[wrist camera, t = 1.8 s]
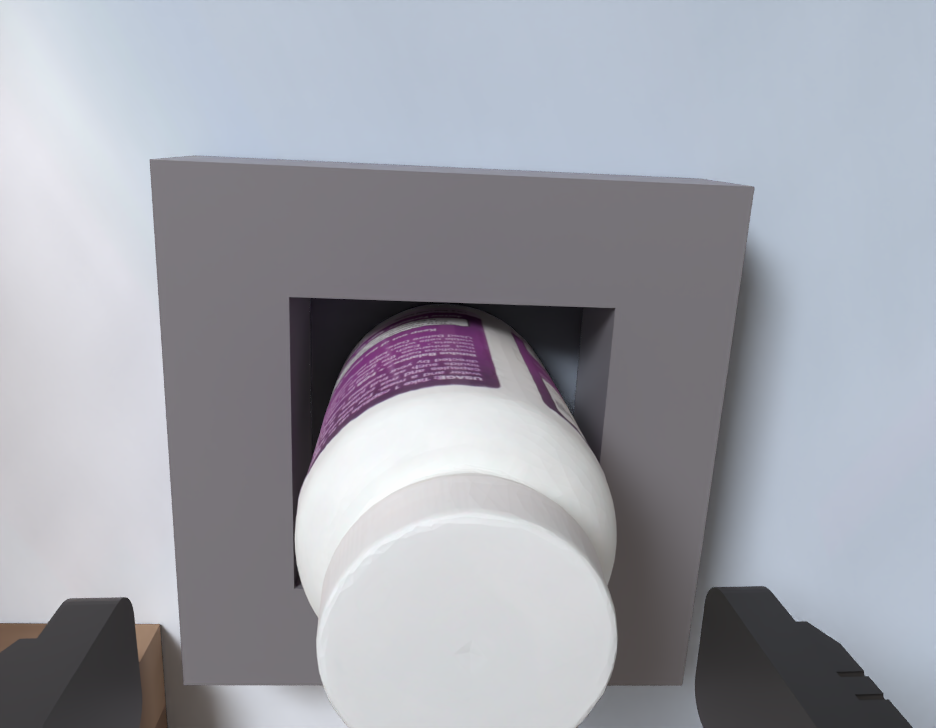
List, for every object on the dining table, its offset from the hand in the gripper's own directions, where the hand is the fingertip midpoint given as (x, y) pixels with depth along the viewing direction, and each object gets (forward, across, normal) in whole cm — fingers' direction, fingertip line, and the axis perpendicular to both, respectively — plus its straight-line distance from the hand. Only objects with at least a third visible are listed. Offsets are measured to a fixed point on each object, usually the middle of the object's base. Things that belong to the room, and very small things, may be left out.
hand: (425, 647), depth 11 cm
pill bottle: (+9, -1, 0) cm, 9 cm away
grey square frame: (+9, -1, 0) cm, 9 cm away
